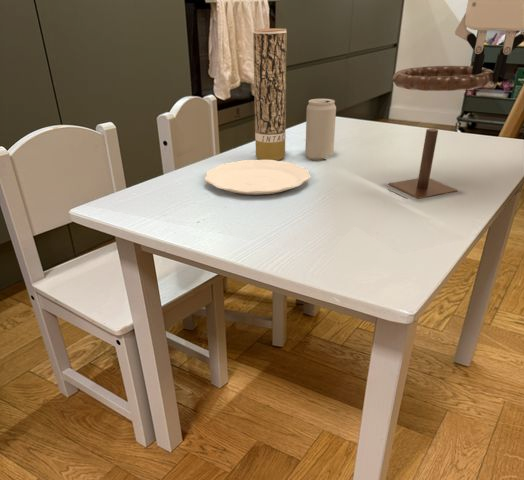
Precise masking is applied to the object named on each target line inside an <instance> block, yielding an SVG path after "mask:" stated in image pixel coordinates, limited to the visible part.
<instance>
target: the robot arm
mask: <svg viewBox="0 0 524 480" xmlns="http://www.w3.org/2000/svg"><path fill="white" fill-rule="evenodd" d="M468 29H469V30H468ZM470 30H473V31H477V36H476V35H475V33H473V32H472V31H470ZM488 31H503V32H504V31H505V35H504V40H503V43H502V47H501V48H500V49H499V53H497V55H496V60H495V64H494V68H493V71H492V72H493V80H492V82H491V83H493V84H498V81H499V78H503V77H504V73H505V71H506V65H507V62H508V57H509V54H511V53H512V52H513V51H514V50H515V49H516V48H517V47H519V46H520V45H521V44H522V43H524V0H468V1H467V4H466V10H465V13H464V15H463V17H462V18H461V20H460V22H459V24H458V25H457V26H456V29H455V31H454V34H455V35H456V36H457V37H458V38H459V39H460V38H461V39H462V40H464V41H466V42H467V43H468V44H469V46H470V47H471V49H472V51H474V53H475V54H474V58H473V64H472V66H473V68H472V73H471V75H473V74H480V73H481V71H482V67H483V66H484V63H485V62H484V61H485V56H486V54H485V48H484V46H485V43H486V38H487V34H488ZM517 31H523V32H521V33H518V34H516V32H517Z"/></svg>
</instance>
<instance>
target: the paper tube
mask: <svg viewBox="0 0 524 480" xmlns="http://www.w3.org/2000/svg"><path fill="white" fill-rule="evenodd" d="M287 34H288V32H287V28H256V29H253V31H252V40H253V41H252V46H253V47H252V48H253V90H254V91H253V92H254V138H255V141H254V142H255V157H256V158H257V160H276V161H280V160H283V159H284V158H285V156H286V124H287V123H286V120H287V112H286V111H287V48H288V47H287V42H288V41H287V38H288V35H287Z"/></svg>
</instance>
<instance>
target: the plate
mask: <svg viewBox="0 0 524 480" xmlns="http://www.w3.org/2000/svg"><path fill="white" fill-rule="evenodd" d="M310 179H311V175H310V173H309V170H308V169H307V168H306V167H304V166H300V165H298V164H297V163H295V162H290V161H280V160H260V159H244V160H237V161H233V162H226V163H221V164H219V165H217V166H215V167H213V168H211V169H209V170H207V171H206V172H205V177H204V181H205V182H206V183H208V184H210V185H212V186H213V187H214V188H217V189H219V190H225V191H227V192H229V193H233V194H239V195H247V196H250V195H251V196H253V195H254V196H261V195H262V196H263V195H272V194H278V193H283V192H286V191H289V190H291V189H294V188H297V187H300V186H301V185H303V183H306V182H307V181H309V180H310Z"/></svg>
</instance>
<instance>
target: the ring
mask: <svg viewBox="0 0 524 480" xmlns="http://www.w3.org/2000/svg"><path fill="white" fill-rule="evenodd" d="M472 68H473V65H431V66H430V65H429V66H428V65H427V66H417V67H410V68H405V69H401V70H397V71H396V72H395V73H394V74H393V75H392V78H391V82H392V84H393V85H394V86H396V87H397V88H399V89H405V90H410V91H422V92H423V91H425V92H451V91H466V90H472V89H473V90H474V89H480V88H483V87H486V86H489V85H490V84H492V83H493V82H492V80H493V72H494V71H493V70H492V69H490V68H486V67H483V66H482V71H481V73H480V74H473V75H471V73H472Z"/></svg>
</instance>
